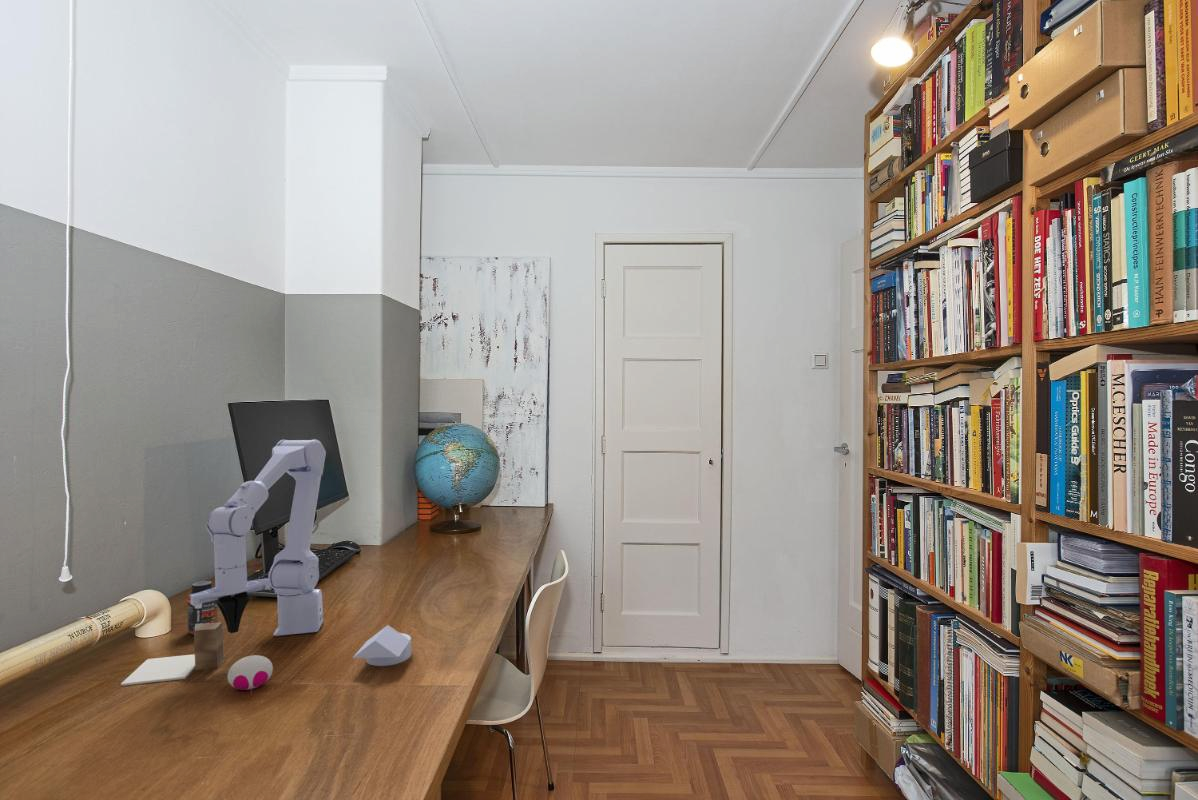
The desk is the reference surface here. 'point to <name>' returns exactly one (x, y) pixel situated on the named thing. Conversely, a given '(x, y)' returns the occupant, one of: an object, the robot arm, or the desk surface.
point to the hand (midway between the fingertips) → (233, 631)
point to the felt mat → (162, 670)
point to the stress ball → (250, 672)
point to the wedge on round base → (386, 648)
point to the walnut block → (208, 645)
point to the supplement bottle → (201, 608)
